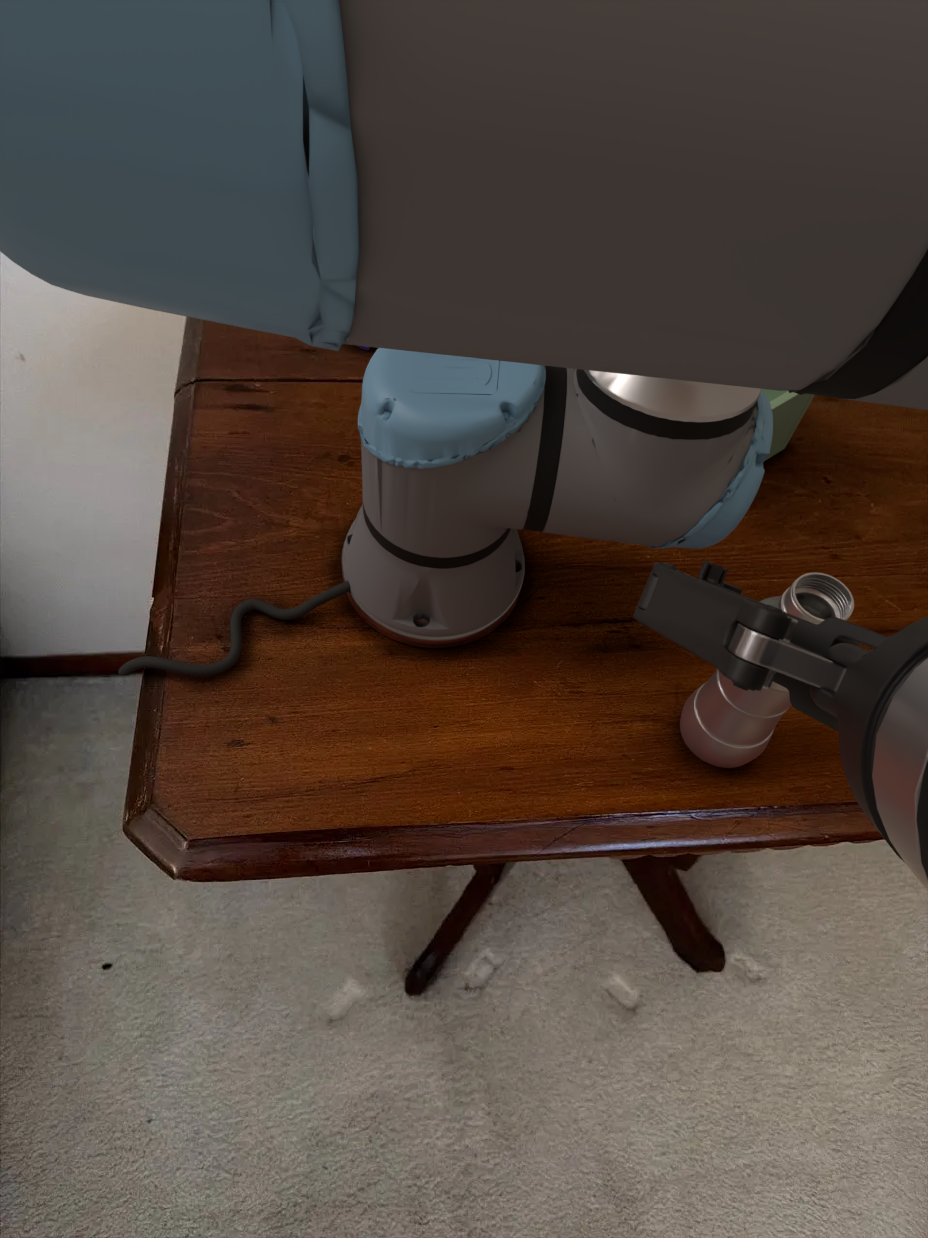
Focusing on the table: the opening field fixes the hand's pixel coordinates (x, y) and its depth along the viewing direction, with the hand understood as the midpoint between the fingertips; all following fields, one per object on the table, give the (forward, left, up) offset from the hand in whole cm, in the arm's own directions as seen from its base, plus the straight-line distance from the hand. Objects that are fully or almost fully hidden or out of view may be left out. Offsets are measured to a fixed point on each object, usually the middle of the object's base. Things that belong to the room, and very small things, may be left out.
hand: (850, 660), depth 42 cm
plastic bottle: (+8, +4, -27) cm, 28 cm away
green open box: (+29, +29, -27) cm, 49 cm away
